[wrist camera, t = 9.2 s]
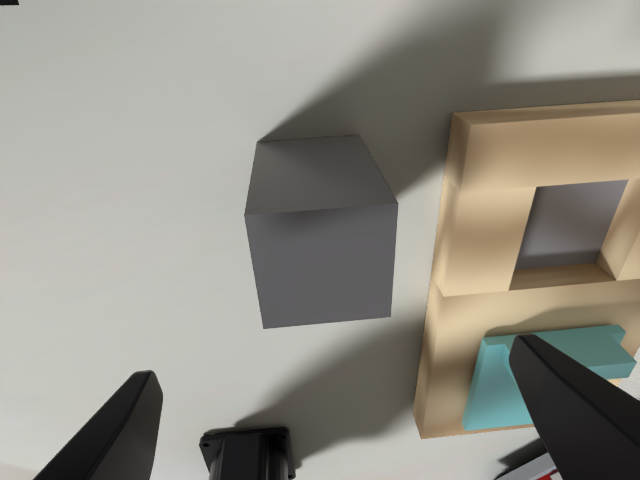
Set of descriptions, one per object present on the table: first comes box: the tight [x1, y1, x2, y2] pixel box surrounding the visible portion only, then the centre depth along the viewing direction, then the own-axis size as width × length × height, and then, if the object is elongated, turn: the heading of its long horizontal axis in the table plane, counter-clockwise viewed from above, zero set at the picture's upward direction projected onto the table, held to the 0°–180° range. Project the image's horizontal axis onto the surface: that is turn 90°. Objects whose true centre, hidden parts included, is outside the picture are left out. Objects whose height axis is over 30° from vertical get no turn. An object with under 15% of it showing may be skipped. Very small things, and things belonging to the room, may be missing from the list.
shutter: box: [462, 324, 637, 431], centre depth 23 cm, size 8×8×3 cm
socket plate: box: [413, 100, 640, 439], centre depth 23 cm, size 22×13×2 cm, turn 3°
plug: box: [244, 135, 398, 329], centre depth 16 cm, size 5×5×7 cm
